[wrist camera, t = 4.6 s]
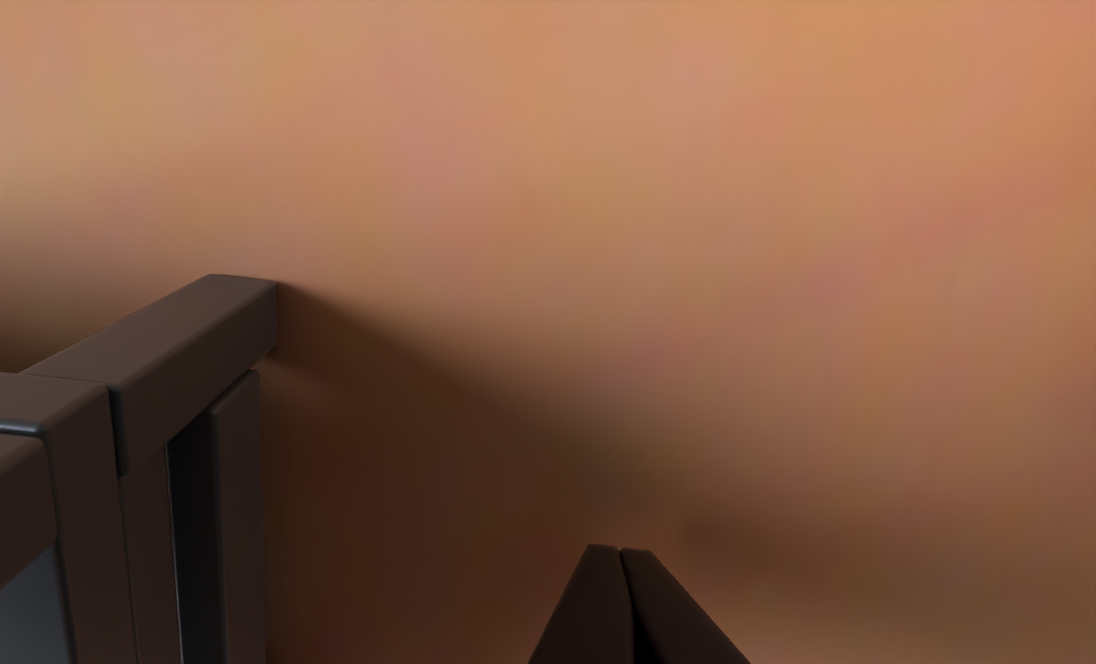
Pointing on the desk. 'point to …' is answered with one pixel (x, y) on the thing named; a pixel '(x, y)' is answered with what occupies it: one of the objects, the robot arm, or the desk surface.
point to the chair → (140, 487)
